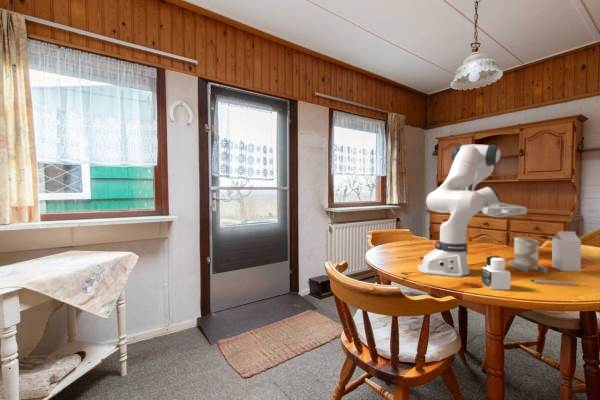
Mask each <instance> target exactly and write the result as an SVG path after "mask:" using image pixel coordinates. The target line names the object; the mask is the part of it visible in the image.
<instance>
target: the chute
mask: <svg viewBox="0 0 600 400" xmlns="http://www.w3.org/2000/svg"><path fill="white" fill-rule="evenodd" d="M508 265H509V266H511V267H514V268H515V269H517V270H520V271H522V272H524V273H528V271H529V270H528V268H527V267H525V266H522V265H520V264H518V263H516V262H514V260H509V261H508ZM537 271H539V272H542V273H544V274H548V268H547V267H544V266H542V265H540V264H538V270H537ZM530 281H531V282H533V283H535V284H540V285H557V286H558V285H560V286H561V285H562V286H578V285H577V284H578V283H577V282H576V281H575V282H574V281H569V280H567V281H566V280H565V281H562V280H548V279H547V280H545V279H530Z"/></svg>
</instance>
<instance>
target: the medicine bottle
mask: <svg viewBox="0 0 600 400" xmlns="http://www.w3.org/2000/svg"><path fill="white" fill-rule="evenodd" d="M511 275H512V274H511V271H509V270H507V269H506V259H505V258H504V257H500V256H495V255H490V256H487V257H486V266H482V267H481V284H482V285H483V286H485V287H487V288H489V289H490V290H498V291H499V290H501V291H502V290H503V291H510V290H511V281H512V280H511Z"/></svg>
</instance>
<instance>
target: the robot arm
mask: <svg viewBox="0 0 600 400" xmlns="http://www.w3.org/2000/svg"><path fill="white" fill-rule="evenodd" d="M501 154H502V153H501V149H500V147H499V146H497V145H494V144H489V145H488V144H478V143H477V144H476V143H474V144H473V143H472V144H470V143H469V144H459V145H455V146H454V148H452V150H451V154H450V158H451V161H452V163H451V167H450V169H449V172H448V175H447V177H446V178H445V180H444V181H443V183H441V184H440V186H438V187H437V188H436V189H435V190H433V191H431V192H430V193H428V194H427V196H426V199H425V201H426V202H425V204H426V206H427V208H428V209H429V210H430V211H433V212H435V213H436V212H437V213H440V214H444V213H445V214H450V215H449V218H448V220H445V221H444V222H442V223H441V224H440V226H439V240H438V241H436V240H433V241H432V245H433V246H435V247H434V249H432V250H431V251H429V252H428V253H426V254H425V255H424V256H423V260H422V263H421V264H418V265H417V269H418V271H419V272H421V273H424V274H425V275H426V274H427V275H437V276H447V277H449V276H450V277H456V278H457V277H458V278H462V277H463V276H467V275H470V273H471V272H470V269H469V266H468V265H469V264H468V258H467V255H468V243H467V228H468V224H469V223H470V221H471V219H472V218H473V217H474V215H476V214H478V213H479V212H482V214H484V215H486V216H489V217H493V218H498V219H499V218H505V217H513V216H517V215H518V216H519V215H520V216H521V215H527V213H528V209H527V208H528V207H525V206H522V205H517V204H515V203H505V202H501V201H500V200H501V199H500V195H499V193H498V192H497V190H496V189H495V188H492V187H490V186H485V187H483V188H480V189H478V190H475V187H476V186H477V185H478V184H479V183H481V182H482V181H484V180H485V179H488V177H490V176H491V175H492V173H493V172H494V170H495V165H496V164H498V163H499V161H500V158H501Z"/></svg>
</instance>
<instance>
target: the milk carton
mask: <svg viewBox="0 0 600 400" xmlns="http://www.w3.org/2000/svg"><path fill="white" fill-rule="evenodd" d="M551 241H552V249H551V258H552V259H551V260H552V261H551V268H555V269H557V270H560V271H561V272H564V271H565V272H579V273H581V268H582V267H581V265H582V263H581V262H582V256H581V255H582V240H581V239H580V237H578V235H577V234H576V231H572V230H571V231H567V230H566V231H563V230H560V231H559V230H558V231H557V233H556V234H555V236H553V238H552V240H551Z"/></svg>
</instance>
